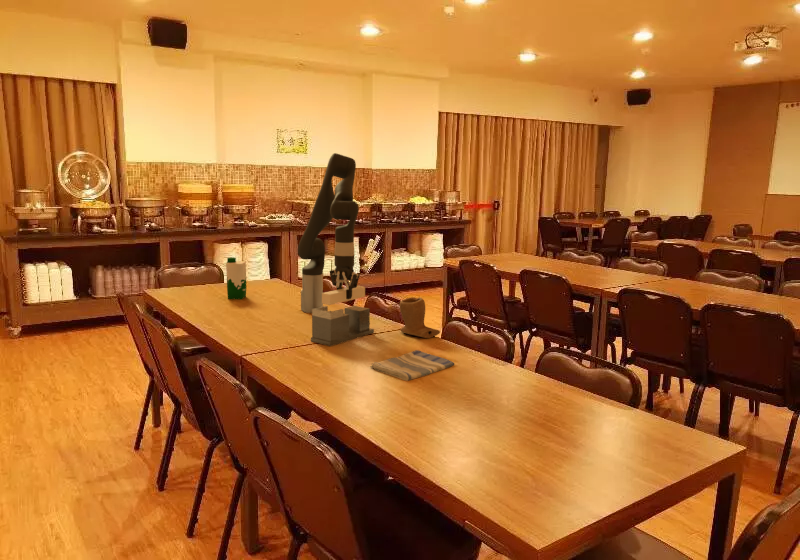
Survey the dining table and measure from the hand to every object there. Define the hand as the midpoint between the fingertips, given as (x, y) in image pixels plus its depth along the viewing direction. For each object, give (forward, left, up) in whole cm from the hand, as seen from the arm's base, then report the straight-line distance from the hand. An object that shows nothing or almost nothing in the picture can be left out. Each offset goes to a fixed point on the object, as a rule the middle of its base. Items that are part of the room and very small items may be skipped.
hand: (344, 297), depth 234 cm
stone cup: (+20, +20, -16) cm, 33 cm away
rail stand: (0, -1, -15) cm, 15 cm away
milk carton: (-88, +17, -16) cm, 91 cm away
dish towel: (+42, -13, -16) cm, 47 cm away
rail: (0, 0, -1) cm, 1 cm away
